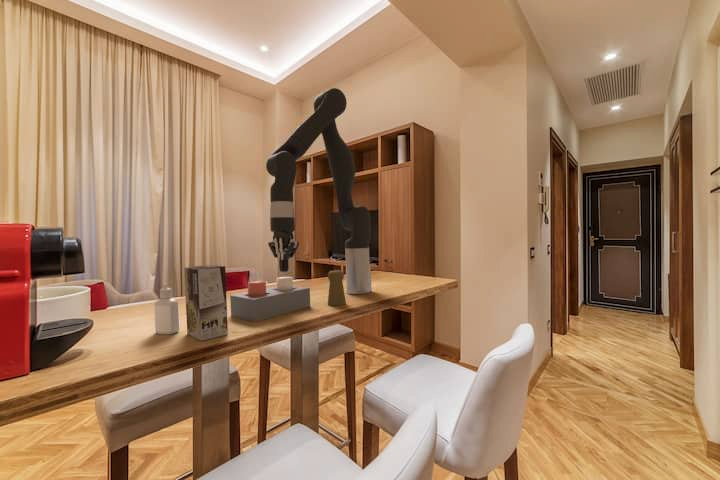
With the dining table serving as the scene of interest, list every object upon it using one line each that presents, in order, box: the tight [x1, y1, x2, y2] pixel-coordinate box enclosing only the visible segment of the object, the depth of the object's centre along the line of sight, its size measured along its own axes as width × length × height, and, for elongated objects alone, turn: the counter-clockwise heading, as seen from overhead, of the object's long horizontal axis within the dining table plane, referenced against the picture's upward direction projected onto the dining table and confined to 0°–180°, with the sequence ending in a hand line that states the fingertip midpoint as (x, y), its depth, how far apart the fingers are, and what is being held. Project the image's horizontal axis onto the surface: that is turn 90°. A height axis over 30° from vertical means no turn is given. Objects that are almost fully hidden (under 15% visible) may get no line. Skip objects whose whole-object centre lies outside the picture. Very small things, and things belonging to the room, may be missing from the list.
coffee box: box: [183, 264, 229, 342], centre depth 72 cm, size 9×6×16 cm
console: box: [229, 285, 311, 323], centre depth 93 cm, size 20×12×6 cm, turn 142°
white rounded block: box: [276, 276, 294, 291], centre depth 97 cm, size 5×5×6 cm
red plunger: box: [247, 280, 267, 297], centre depth 89 cm, size 5×5×6 cm
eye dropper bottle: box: [153, 283, 180, 335], centre depth 75 cm, size 4×6×12 cm
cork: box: [327, 269, 347, 307], centre depth 99 cm, size 6×6×11 cm
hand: (283, 271), depth 96 cm, fingers closed
